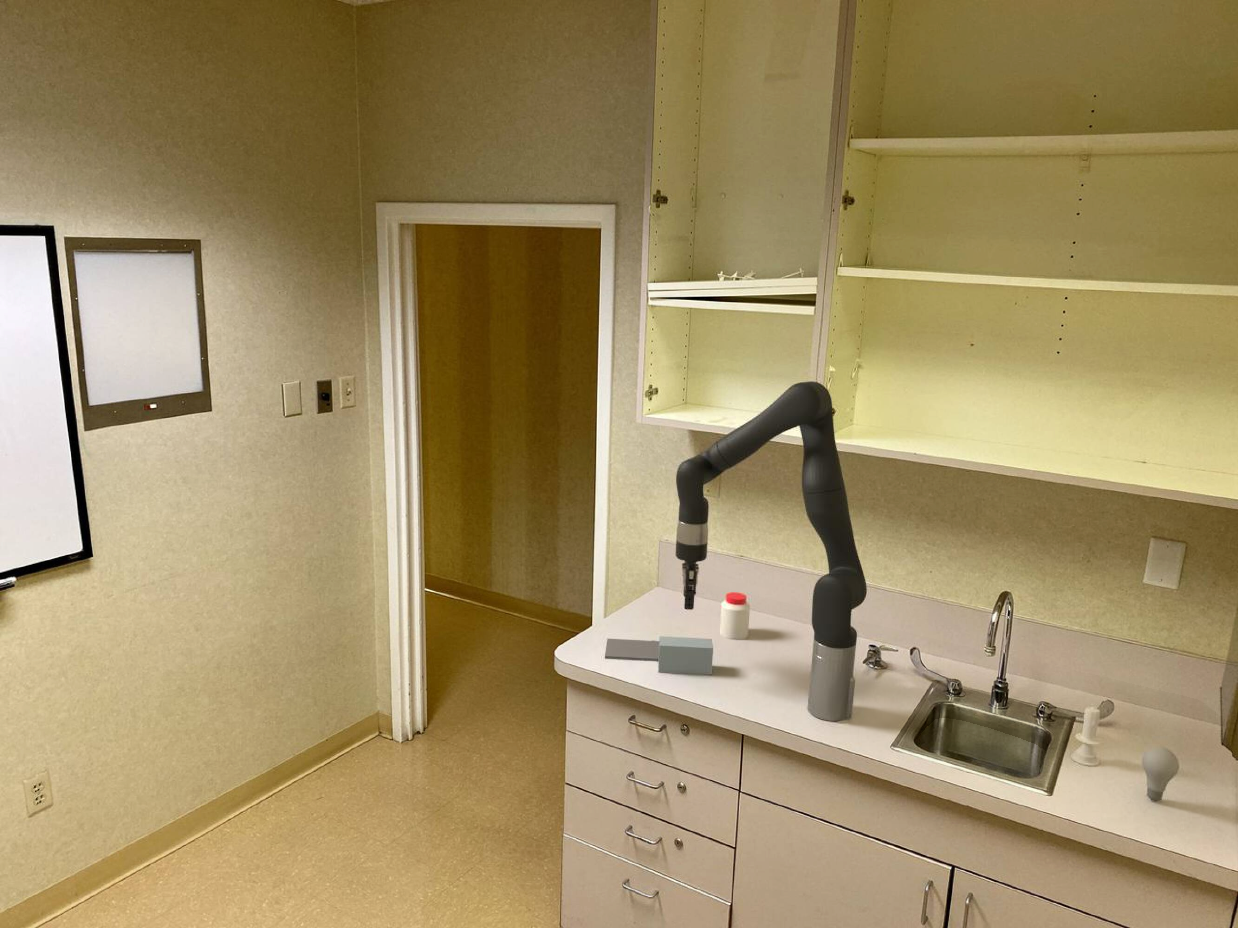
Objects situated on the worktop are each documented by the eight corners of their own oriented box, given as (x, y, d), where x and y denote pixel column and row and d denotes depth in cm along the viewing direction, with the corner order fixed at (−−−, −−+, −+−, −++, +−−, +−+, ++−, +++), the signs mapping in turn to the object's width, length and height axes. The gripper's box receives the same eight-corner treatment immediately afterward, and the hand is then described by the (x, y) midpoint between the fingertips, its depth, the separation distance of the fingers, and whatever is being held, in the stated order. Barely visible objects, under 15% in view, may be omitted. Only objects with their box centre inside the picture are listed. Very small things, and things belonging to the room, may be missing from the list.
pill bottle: (747, 629, 249) (750, 591, 247) (748, 640, 241) (751, 601, 239) (719, 627, 250) (721, 589, 247) (719, 638, 242) (722, 599, 240)
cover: (710, 664, 226) (711, 638, 224) (711, 674, 220) (713, 648, 219) (658, 662, 226) (659, 636, 225) (658, 672, 221) (659, 645, 219)
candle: (1072, 749, 191) (1081, 697, 189) (1100, 758, 188) (1109, 705, 186) (1068, 760, 187) (1076, 707, 184) (1097, 769, 184) (1106, 715, 181)
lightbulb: (1162, 813, 169) (1172, 760, 167) (1129, 797, 174) (1138, 745, 172) (1177, 803, 173) (1187, 751, 171) (1144, 787, 178) (1153, 737, 175)
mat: (660, 643, 238) (660, 641, 237) (660, 661, 227) (660, 658, 227) (607, 640, 238) (607, 638, 238) (604, 658, 227) (604, 655, 227)
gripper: (709, 548, 209) (705, 614, 212) (706, 531, 223) (702, 593, 226) (676, 547, 209) (673, 612, 213) (675, 529, 223) (672, 591, 227)
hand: (688, 602), depth 219 cm, fingers open, 8 cm apart
